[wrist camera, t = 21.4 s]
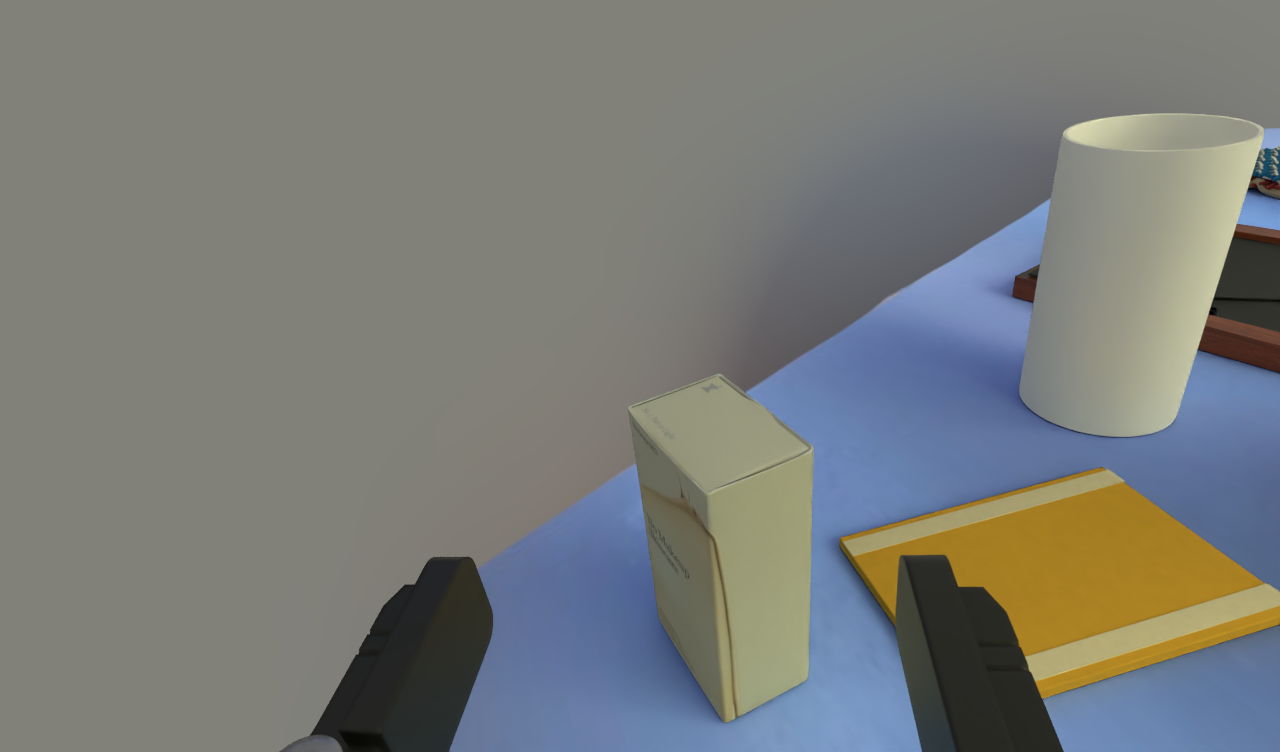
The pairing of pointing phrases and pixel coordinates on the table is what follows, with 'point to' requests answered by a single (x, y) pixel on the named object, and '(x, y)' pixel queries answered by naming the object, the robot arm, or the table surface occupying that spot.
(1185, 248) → the cup
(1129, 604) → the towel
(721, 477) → the cosmetic box
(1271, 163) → the woven mat
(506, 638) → the table surface
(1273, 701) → the table surface
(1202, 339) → the picture frame
